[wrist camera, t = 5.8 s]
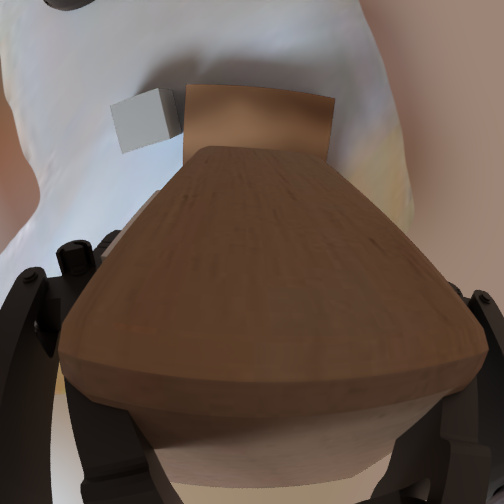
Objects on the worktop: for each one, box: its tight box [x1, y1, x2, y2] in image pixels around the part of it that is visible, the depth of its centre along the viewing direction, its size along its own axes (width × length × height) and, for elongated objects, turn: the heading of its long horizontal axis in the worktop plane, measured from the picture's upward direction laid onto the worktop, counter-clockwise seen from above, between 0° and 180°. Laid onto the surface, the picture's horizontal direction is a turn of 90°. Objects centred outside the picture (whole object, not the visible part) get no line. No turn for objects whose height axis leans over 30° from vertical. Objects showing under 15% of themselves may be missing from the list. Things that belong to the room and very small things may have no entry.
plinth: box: [183, 84, 335, 166], centre depth 31 cm, size 16×16×5 cm
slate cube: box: [110, 88, 182, 154], centre depth 28 cm, size 6×6×6 cm
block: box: [58, 146, 489, 488], centre depth 15 cm, size 10×10×20 cm
